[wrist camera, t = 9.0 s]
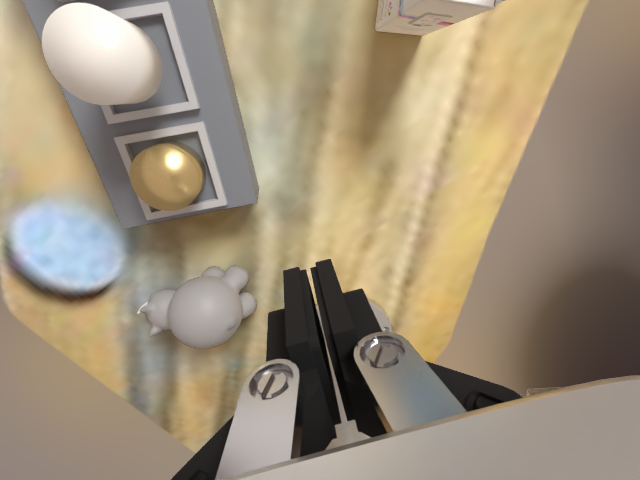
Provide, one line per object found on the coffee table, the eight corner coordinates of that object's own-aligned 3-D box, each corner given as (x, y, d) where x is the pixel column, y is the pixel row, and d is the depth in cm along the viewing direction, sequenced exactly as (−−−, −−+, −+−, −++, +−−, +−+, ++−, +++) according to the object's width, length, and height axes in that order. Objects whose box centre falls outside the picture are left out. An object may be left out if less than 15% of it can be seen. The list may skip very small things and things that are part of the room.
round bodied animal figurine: (160, 256, 39) (100, 296, 32) (253, 258, 36) (209, 304, 28) (177, 307, 42) (125, 356, 34) (265, 314, 39) (228, 369, 31)
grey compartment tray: (259, 188, 35) (256, 204, 30) (143, 211, 34) (120, 231, 29) (183, -121, 25) (160, -177, 20) (18, -98, 24) (-50, -149, 19)
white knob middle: (173, 96, 23) (154, 97, 20) (100, 109, 23) (68, 112, 19) (146, 12, 21) (120, -5, 18) (66, 25, 21) (23, 10, 17)
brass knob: (213, 194, 29) (207, 204, 27) (156, 205, 29) (144, 216, 26) (195, 136, 27) (187, 140, 25) (134, 147, 27) (118, 153, 24)
